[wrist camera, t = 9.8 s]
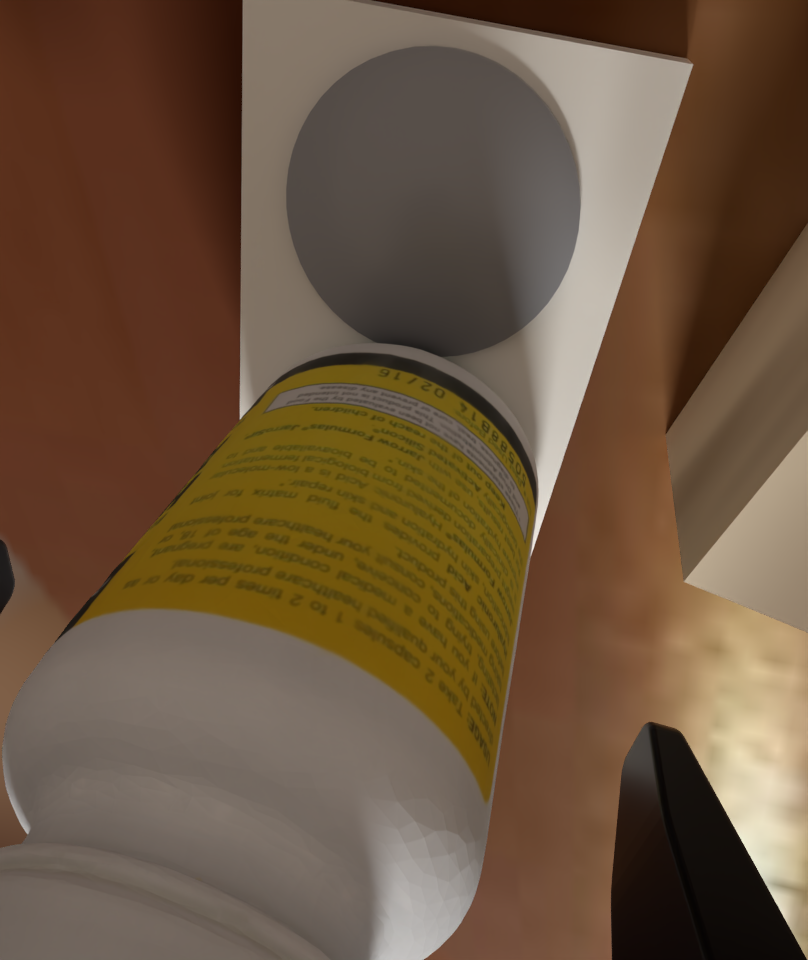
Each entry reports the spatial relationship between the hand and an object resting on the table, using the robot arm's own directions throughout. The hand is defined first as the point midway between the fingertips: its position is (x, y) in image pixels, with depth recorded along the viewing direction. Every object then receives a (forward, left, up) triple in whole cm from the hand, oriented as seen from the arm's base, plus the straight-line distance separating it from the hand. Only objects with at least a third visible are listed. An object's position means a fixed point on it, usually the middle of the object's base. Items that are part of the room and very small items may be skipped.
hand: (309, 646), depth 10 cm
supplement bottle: (0, 0, -5) cm, 5 cm away
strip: (0, 0, -6) cm, 6 cm away
